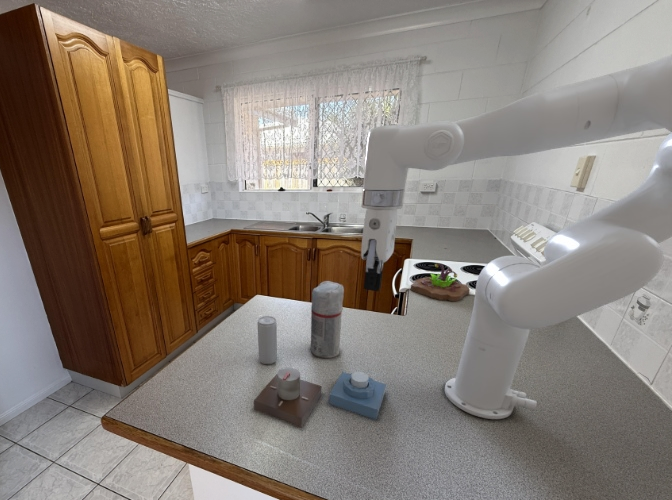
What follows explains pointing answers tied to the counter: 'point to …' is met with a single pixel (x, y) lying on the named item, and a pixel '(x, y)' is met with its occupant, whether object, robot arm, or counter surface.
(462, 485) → the counter surface
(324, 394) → the counter surface
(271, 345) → the beverage can
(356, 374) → the white button cap
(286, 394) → the lock knob
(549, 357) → the counter surface
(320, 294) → the spray can
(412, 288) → the plant
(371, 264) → the robot arm
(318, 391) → the base
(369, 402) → the button base
